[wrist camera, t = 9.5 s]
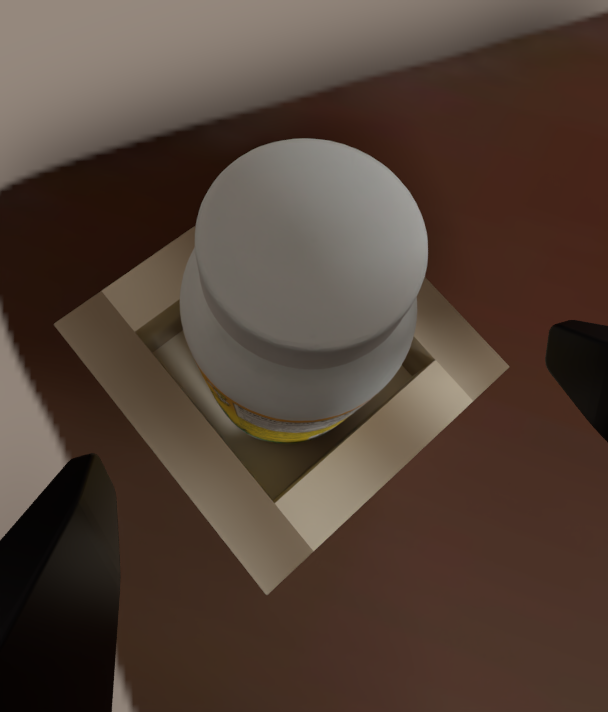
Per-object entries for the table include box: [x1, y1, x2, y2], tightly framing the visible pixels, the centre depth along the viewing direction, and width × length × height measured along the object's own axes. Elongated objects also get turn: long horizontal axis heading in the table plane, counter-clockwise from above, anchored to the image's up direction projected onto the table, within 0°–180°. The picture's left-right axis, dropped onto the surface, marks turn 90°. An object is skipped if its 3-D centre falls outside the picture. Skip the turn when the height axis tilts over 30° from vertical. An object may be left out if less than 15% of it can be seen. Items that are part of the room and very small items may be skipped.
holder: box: [54, 226, 509, 595], centre depth 17 cm, size 10×10×3 cm
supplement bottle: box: [180, 138, 428, 444], centre depth 13 cm, size 5×5×10 cm
